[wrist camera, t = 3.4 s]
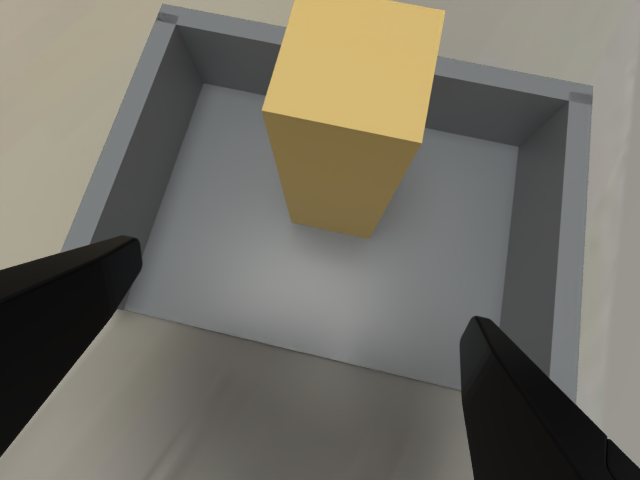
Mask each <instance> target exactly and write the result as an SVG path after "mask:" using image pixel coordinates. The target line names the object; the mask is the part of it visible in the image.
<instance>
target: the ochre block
mask: <svg viewBox="0 0 640 480" xmlns="http://www.w3.org/2000/svg"><path fill="white" fill-rule="evenodd" d="M444 16H445V11H444V10H438V9H433V8H427V7H422V6H416V5H411V4H406V3H400V2H395V1H389V0H295V1H294V5H293V8H292V11H291V15H290V18H289V21H288V25H287V28H286V31H285V35H284V38H283V41H282V44H281V48H280V51H279V54H278V58H277V61H276V64H275V68H274V71H273V74H272V78H271V81H270V84H269V87H268V91H267V94H266V97H265V101H264V104H263V107H262V114H263V118H264V121H265V125H266V129H267V133H268V136H269V140H270V144H271V148H272V151H273V155H274V159H275V163H276V166H277V170H278V174H279V178H280V181H281V185H282V189H283V193H284V196H285V200H286V204H287V208H288V211H289V215H290V219H291V222H293V223H298V224H302V225H307V226H311V227H316V228H320V229H325V230H329V231H334V232H338V233H343V234H347V235H352V236H357V237H361V238H366V239H369V238H370V236H371V234H372V233H373V231H374V229H375V227H376V225H377V224H378V222H379V220H380V218H381V216H382V215H383V213H384V211H385V209H386V207H387V205H388V204H389V202H390V200H391V198H392V196H393V195H394V193H395V191H396V189H397V187H398V186H399V184H400V182H401V180H402V178H403V177H404V175H405V173H406V171H407V169H408V167H409V166H410V164H411V162H412V160H413V158H414V157H415V155H416V153H417V151H418V149H419V148H420V146H421V144H422V140H423V134H424V129H425V123H426V117H427V112H428V106H429V100H430V95H431V89H432V83H433V78H434V72H435V66H436V61H437V55H438V50H439V44H440V38H441V33H442V27H443V21H444Z"/></svg>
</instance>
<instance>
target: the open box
mask: <svg viewBox="0 0 640 480" xmlns="http://www.w3.org/2000/svg"><path fill="white" fill-rule="evenodd" d="M286 28H287V27H282V26H276V25H271V24H266V23H261V22H256V21H250V20H245V19H240V18H235V17H229V16H224V15H219V14H214V13H208V12H203V11H198V10H193V9H188V8H182V7H177V6H172V5H167V4H162V6H161V8H160V11H159V13H158V16H157V18H156V21H155V23H154V25H153V28H152V30H151V33H150V35H149V38H148V40H147V43H146V45H145V47H144V50H143V52H142V55H141V57H140V60H139V62H138V65H137V67H136V69H135V72H134V74H133V77H132V79H131V82H130V84H129V86H128V89H127V91H126V94H125V96H124V99H123V101H122V104H121V106H120V108H119V111H118V113H117V116H116V118H115V121H114V123H113V125H112V128H111V130H110V133H109V135H108V138H107V140H106V143H105V145H104V147H103V150H102V152H101V155H100V157H99V160H98V162H97V165H96V167H95V169H94V172H93V174H92V177H91V179H90V182H89V184H88V186H87V189H86V191H85V194H84V196H83V199H82V201H81V204H80V206H79V208H78V211H77V213H76V216H75V218H74V221H73V223H72V226H71V228H70V230H69V233H68V235H67V238H66V240H65V243H64V245H63V247H62V250H61V252H60V253H62V252H65V251H68V250H72V249H75V248H79V247H82V246H86V245H89V244H93V243H96V242H100V241H103V240H106V239H110V238H113V237H117V236H120V235H127V236H131V237H135V238H137V239H139V241H140V244H141V252H142V261H143V265H142V269H141V271H140V273H139V275H138V276H137V278H136V280H135V281H134V283H133V284H132V286H131V287H130V289H129V291H128V292H127V294H126V295H125V297H124V299H123V300H122V302H121V303H120V305H119V307H118V308H117V309H123V310H127V311H132V312H136V313H140V314H144V315H148V316H153V317H157V318H161V319H165V320H169V321H173V322H178V323H182V324H186V325H190V326H194V327H198V328H203V329H207V330H211V331H215V332H219V333H224V334H228V335H232V336H236V337H240V338H244V339H249V340H253V341H257V342H261V343H265V344H269V345H274V346H278V347H282V348H286V349H290V350H295V351H299V352H303V353H307V354H311V355H315V356H320V357H324V358H328V359H332V360H336V361H340V362H345V363H349V364H353V365H357V366H361V367H365V368H370V369H374V370H378V371H382V372H386V373H391V374H395V375H399V376H403V377H407V378H411V379H416V380H420V381H424V382H428V383H432V384H436V385H441V386H445V387H449V388H453V389H457V390H461V374H460V350H459V344H460V339H461V336H462V334H463V332H464V331H465V329H466V327H467V325H468V323H469V321H470V319H471V318H472V317H473V316H481V317H485V318H489V319H491V320H492V321H493V322H494V323H495V324H496V325H497V326H498V327H499V328H500V329H501V330H502V331H503V332H504V333H505V334H506V335H507V336H508V337H509V338H510V339H511V340H512V341H513V342H514V343H515V344H516V345H517V346H518V347H519V348H520V349H521V350H522V351H523V352H524V353H525V354H526V355H527V356H528V357H529V358H530V359H531V360H532V361H533V362H534V363H535V364H536V365H537V366H538V367H539V368H540V369H541V370H542V371H543V372H544V373H545V374H546V375H547V376H548V377H549V378H550V379H551V380H552V381H553V382H554V383H555V384H556V385H557V386H558V387H559V388H560V389H561V390H562V391H563V392H564V393H565V394H566V395H567V396H568V397H569V398H570V399H571V400H572V401H573V402H574V403H575V404H576V395H577V376H578V358H579V339H580V320H581V302H582V283H583V264H584V246H585V227H586V208H587V190H588V171H589V152H590V134H591V115H592V96H593V86H590V85H585V84H580V83H575V82H569V81H564V80H559V79H554V78H548V77H543V76H538V75H533V74H527V73H522V72H517V71H512V70H507V69H501V68H496V67H491V66H486V65H480V64H475V63H470V62H465V61H459V60H454V59H449V58H444V57H439V56H437V61H436V66H435V72H434V78H433V83H432V89H431V95H430V100H429V106H428V112H427V117H426V123H425V129H424V134H423V140H422V144H421V146H420V148H419V149H418V151H417V153H416V155H415V157H414V158H413V160H412V162H411V164H410V166H409V167H408V169H407V171H406V173H405V175H404V177H403V178H402V180H401V182H400V184H399V186H398V187H397V189H396V191H395V193H394V195H393V196H392V198H391V200H390V202H389V204H388V205H387V207H386V209H385V211H384V213H383V215H382V216H381V218H380V220H379V222H378V224H377V225H376V227H375V229H374V231H373V233H372V234H371V236H370V238H369V239H366V238H361V237H357V236H352V235H347V234H343V233H338V232H334V231H329V230H325V229H320V228H316V227H311V226H307V225H302V224H298V223H293V222H291V219H290V215H289V211H288V208H287V204H286V200H285V196H284V193H283V189H282V185H281V181H280V178H279V174H278V170H277V166H276V163H275V159H274V155H273V151H272V148H271V144H270V140H269V136H268V133H267V129H266V125H265V121H264V118H263V114H262V107H263V104H264V101H265V97H266V94H267V91H268V87H269V84H270V81H271V78H272V74H273V71H274V68H275V64H276V61H277V58H278V54H279V51H280V48H281V44H282V41H283V38H284V35H285V31H286Z"/></svg>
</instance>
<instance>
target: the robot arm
mask: <svg viewBox="0 0 640 480" xmlns="http://www.w3.org/2000/svg"><path fill="white" fill-rule="evenodd" d="M142 265H143V261H142V252H141V244H140V241H139V239H137V238H135V237H131V236H127V235H120V236H117V237H113V238H110V239H106V240H103V241H100V242H96V243H93V244H89V245H86V246H82V247H79V248H75V249H72V250H68V251H65V252H62V253H58V254H55V255H51V256H48V257H44V258H41V259H37V260H34V261H30V262H27V263H23V264H20V265H17V266H13V267H10V268H6V269H3V270H0V457H1V456H2V455H3V453H4V452H5V451H6V450H7V448H8V447H9V446H10V445H11V443H12V442H13V441H14V439H15V438H16V437H17V436H18V434H19V433H20V432H21V431H22V429H23V428H24V427H25V426H26V424H27V423H28V422H29V421H30V419H31V418H32V417H33V416H34V414H35V413H36V412H37V411H38V409H39V408H40V407H41V405H42V404H43V403H44V402H45V400H46V399H47V398H48V397H49V395H50V394H51V393H52V392H53V390H54V389H55V388H56V387H57V385H58V384H59V383H60V382H61V380H62V379H63V378H64V376H65V375H66V374H67V373H68V371H69V370H70V369H71V368H72V366H73V365H74V364H75V363H76V361H77V360H78V359H79V358H80V356H81V355H82V354H83V353H84V351H85V350H86V349H87V348H88V346H89V345H90V344H91V342H92V341H93V340H94V339H95V337H96V336H97V335H98V334H99V332H100V331H101V330H102V329H103V327H104V326H105V325H106V324H107V322H108V321H109V320H110V318H111V317H112V316H113V314H114V313H115V311H116V310H117V308H118V307H119V305H120V303H121V302H122V300H123V299H124V297H125V295H126V294H127V292H128V291H129V289H130V287H131V286H132V284H133V283H134V281H135V280H136V278H137V276H138V275H139V273H140V271H141V269H142ZM459 350H460V374H461V395H462V405H463V412H464V419H465V425H466V431H467V437H468V444H469V450H470V456H471V462H472V468H473V475H474V480H640V468H639V467H638V466H637V465H636V464H635V463H634V462H632V461H631V460H630V459H629V458H628V457H627V456H626V455H625V454H624V453H623V452H622V451H621V450H620V449H619V448H618V447H617V446H616V445H615V443H613V441H612V440H610V439H607V436H606V435H605V434H604V433H603V432H602V431H601V430H600V429H599V428H598V426H597V425H596V424H595V423H594V422H593V421H592V420H591V419H590V418H589V417H588V416H587V415H586V414H585V413H584V412H583V411H582V410H581V409H580V408H579V407H578V406H577V405H576V404H575V403H574V402H573V401H572V400H571V399H570V398H569V397H568V396H567V395H566V394H565V393H564V392H563V391H562V390H561V389H560V388H559V387H558V386H557V385H556V384H555V383H554V382H553V381H552V380H551V379H550V378H549V377H548V376H547V375H546V374H545V373H544V372H543V371H542V370H541V369H540V368H539V367H538V366H537V365H536V364H535V363H534V362H533V361H532V360H531V359H530V358H529V357H528V356H527V355H526V354H525V353H524V352H523V351H522V350H521V349H520V348H519V347H518V346H517V345H516V344H515V343H514V342H513V341H512V340H511V339H510V338H509V337H508V336H507V335H506V334H505V333H504V332H503V331H502V330H501V329H500V328H499V327H498V326H497V325H496V324H495V323H494V322H493V321H492V320H491V319H489V318H485V317H481V316H473V317H472V318H471V319H470V321H469V323H468V325H467V327H466V329H465V331H464V332H463V334H462V336H461V339H460V344H459Z"/></svg>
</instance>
